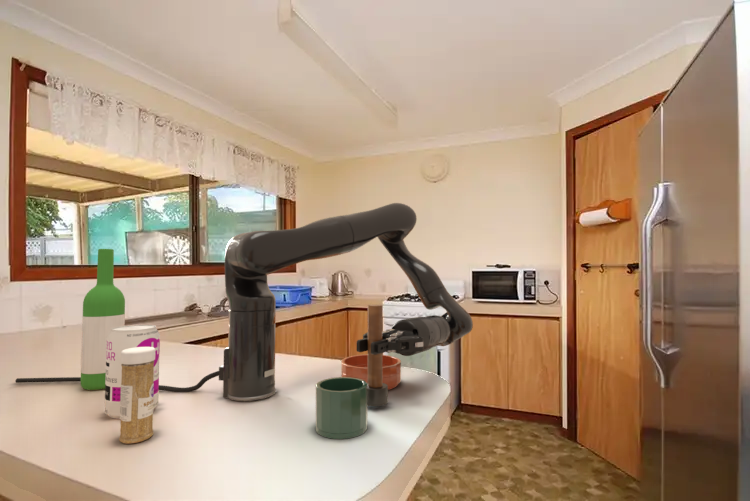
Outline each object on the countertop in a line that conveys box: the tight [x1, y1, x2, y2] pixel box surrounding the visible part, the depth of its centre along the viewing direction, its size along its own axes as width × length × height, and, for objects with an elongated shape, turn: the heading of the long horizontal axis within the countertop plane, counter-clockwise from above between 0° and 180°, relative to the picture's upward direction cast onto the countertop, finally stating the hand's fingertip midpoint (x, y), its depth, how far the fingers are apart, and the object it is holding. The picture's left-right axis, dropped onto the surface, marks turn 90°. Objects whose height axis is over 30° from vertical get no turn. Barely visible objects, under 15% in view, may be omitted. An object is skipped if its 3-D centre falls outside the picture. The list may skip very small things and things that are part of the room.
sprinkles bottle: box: [118, 347, 155, 445], centre depth 60 cm, size 5×5×13 cm
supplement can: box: [104, 324, 161, 420], centre depth 71 cm, size 8×8×15 cm
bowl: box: [340, 353, 402, 391], centre depth 88 cm, size 13×13×5 cm
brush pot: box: [315, 376, 368, 440], centre depth 64 cm, size 8×8×7 cm
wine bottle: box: [80, 248, 126, 391], centre depth 87 cm, size 8×8×30 cm
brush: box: [367, 304, 389, 407], centre depth 74 cm, size 5×5×18 cm
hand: (365, 347), depth 72 cm, fingers closed on brush, 3 cm apart
